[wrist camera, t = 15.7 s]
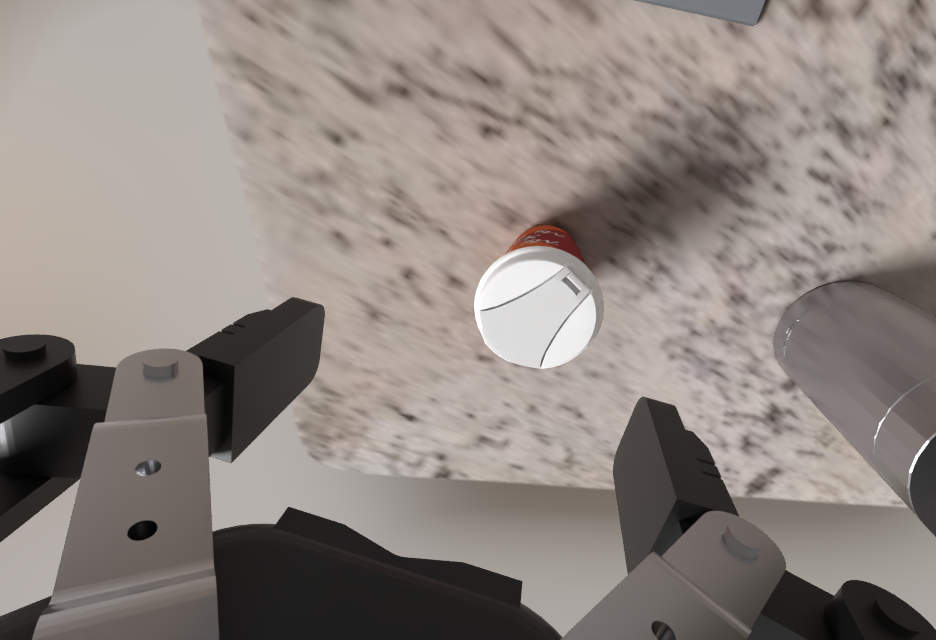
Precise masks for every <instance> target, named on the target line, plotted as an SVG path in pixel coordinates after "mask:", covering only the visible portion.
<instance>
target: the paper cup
mask: <svg viewBox="0 0 936 640" xmlns="http://www.w3.org/2000/svg"><path fill="white" fill-rule="evenodd" d="M474 310H475V318H476V321H477V325H478V327H479V329H480V332H481V334H482V336H483V339H484V341H485V344H486V345H487V346H488V347H489V348H490V349H491V350H492V351H493V352H494V353H496V354H497V355H498V356H499V357H501V358H503V359H504V360H506V361H509V362H513V363H516V364H519V365H523V366H527V367H533V368H540V369H545V368H551V367H555V366H559V365H562V364H564V363H566V362H568V361H570V360H571V359H573V358H575V357H576V356H578V355H579V354H580V353H582V352H583V351H584V350H585V349H586V348H587V347H588V346H589V345H590V344H591V342H592V341H593V340H594V339H595V337H596V335H597V333H598V331H599V329H600V326H601V323H602V319H603V312H604V302H603V296H602V291H601V289H600V286H599V283H598V281H597V280H596V278H595V276H594V275H593V273H592V272H591V271H590V269H589V268H588V267H587V266H586V264H585V262H584V259H583V257H582V256H581V254H580V252H579V249H578V247H577V245H576V244H575V242H574V240H573V239H572V238H571V236H570V235H569V234H568V233H566V232H565V231H564V230H562V229H560V228H558V227H555V226H550V225H541V226H536V227H533V228H530V229H528V230H527V231H525V232H524V233H523V234H521V235H520V236H519V237H518V238H517V239H516V241H515V242H514V243H513V244H512V246H511V247H510V248H509V250H508V251H507V252H506V254H505V255H504V256H502V257H501V258H499V259H498V260H497V261H496V262H494V263H493V264H492V265H491V266H490V267H489V268H488V270H487V271H486V272H485V274H484V275H483V277H482V279H481V280H480V283H479V285H478V287H477V291H476V295H475V303H474Z"/></svg>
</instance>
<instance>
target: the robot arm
mask: <svg viewBox="0 0 936 640" xmlns="http://www.w3.org/2000/svg"><path fill="white" fill-rule="evenodd" d="M324 317H325V311H324V307H323V306H322V305H320V304H317V303H313V302H309V301H306V300H302V299H299V298H295V297H292V298H290V299H289V300H287V301H285V302H284V303H282V304H281V305H279V306H277V307H276V308H274V309H273V310H268V309H267V310H264V311H259V312H255V313H252V314H248V315H246V316H244V317H243V318H241V319H239V320H237V321H236V322H234V323H233V325H229V326H227V327H226V328H224V329H222V331H221V332H217V333H216V334H214V335H212V336H210V337H209V338H207V339H205V340H204V341H202V342H200V343H199V344H197V345H195V346H194V347H192V348H190V349H189V350H187V351H183V350H177V349H153V350H147V351H142V352H138V353H135V354H133V355H130V356H128V357H127V358H125V359H123V360H122V361H121V362H120V363H119V364H118V365H117V367H116V368H114V367H104V366H94V365H83V364H76V355H75V347H74V345H73V343H71V342H70V341H69V340H66V339H64V338H61V337H56V336H51V335H20V336H14V337H8V338H3V339H0V542H1V541H3V540H4V539H5V538H6V537H8V536H9V535H10V534H11V533H13V532H14V531H15V530H16V529H18V528H19V527H20V526H21V525H23V524H24V523H25V522H26V521H28V520H29V519H30V518H31V517H33V516H34V515H35V514H36V513H38V512H39V511H40V510H41V509H43V508H44V507H45V506H46V505H48V504H49V503H50V502H51V501H53V500H54V499H55V498H57V497H58V496H59V495H60V494H62V493H63V492H64V491H65V490H67V489H68V488H69V487H70V486H72V485H73V484H74V483H75V482H76V481H78V480H79V479H80V478H81V479H80V483H79V487H78V492H77V495H76V499H75V504H74V508H73V512H72V516H71V520H70V524H69V528H68V533H67V537H66V541H65V545H64V549H63V553H62V557H61V562H60V565H59V570H58V574H57V578H56V582H55V586H54V590H53V594H52V596H50V597H47V598H45V599H42V600H40V601H37V602H35V603H32V604H30V605H27V606H25V607H22V608H20V609H17V610H15V611H12V612H10V613H8V614H5V615H3V616H0V640H936V630H935V629H934V627H933V626H932V625H931V624H930V623H929V622H928V621H927V620H926V619H925V618H924V617H923V616H922V615H921V614H920V613H918V612H917V611H916V610H915V609H914V608H912V607H911V606H910V605H908V604H907V603H906V602H904V601H903V600H901V599H900V598H898V597H897V596H895V595H894V594H892V593H890V592H888V591H887V590H885V589H882V588H881V587H878V586H876V585H874V584H871V583H868V582H864V581H859V580H850V581H847V582H845V583H844V584H843V585H842V586H841V588H840V589H839V590H838V592H837V593H836V594H835V596H833V595H832V594H830V593H828V592H826V591H824V590H822V589H820V588H818V587H816V586H814V585H812V584H810V583H809V582H807V581H805V580H803V579H801V578H799V577H797V576H795V575H793V574H792V573H790V572H788V571H787V570H785V569H786V562H785V559H784V556H783V554H782V552H781V551H780V549H779V548H778V546H777V545H776V544H775V543H774V542H773V540H771V539H770V537H768V535H766V534H765V533H764V532H763V531H762V530H760V529H759V528H758V527H756V526H755V525H753V524H751V523H750V522H748V521H747V520H745V519H743V518H741V517H739V515H738V513H737V510H736V508H735V506H734V504H733V502H732V500H731V497H730V495H729V493H728V491H727V488H726V486H725V484H724V482H723V480H721V479H720V478H721V475H720V473H719V471H718V469H717V467H716V466H715V462H714V460H713V458H712V456H711V453H710V451H709V449H708V447H707V446H706V445H705V444H704V443H703V442H702V441H701V440H700V439H699V438H698V437H697V436H696V435H695V434H694V433H693V432H692V431H688V430H685V428H684V426H683V423H682V421H681V418H680V416H679V413H678V411H677V408H676V407H675V406H674V405H671V404H667V403H664V402H660V401H657V400H653V399H650V398H646V397H641V398H640V399H639V401H638V402H637V404H636V406H635V408H634V411H633V413H632V416H631V418H630V420H629V423H628V425H627V427H626V430H625V432H624V434H623V437H622V439H621V442H620V444H619V446H618V449H617V452H616V455H615V459H614V465H613V477H614V484H615V490H616V497H617V504H618V511H619V517H620V524H621V531H622V537H623V544H624V551H625V558H626V564H627V571H628V575H627V576H626V577H625V578H624V579H623V580H622V581H621V582H620V583H619V584H618V585H617V586H616V587H615V588H614V589H613V590H612V591H611V592H610V593H609V594H607V596H605V597H604V598H603V599H602V600H601V601H600V602H599V603H598V604H597V605H596V606H595V607H594V608H593V609H592V610H591V611H590V612H589V613H588V614H587V615H586V616H585V617H583V618H582V619H581V620H580V621H579V622H578V623H577V624H576V625H575V626H574V627H573V628H572V629H571V630H570V631H569V632H568V633H567V634H566V635H565V636H564V637H561V635H560V634H559V633H558V632H557V631H556V630H555V629H554V628H553V627H552V626H551V625H550V624H548V623H547V622H546V621H545V620H544V619H543V618H542V617H540V616H539V615H537V614H536V613H535V612H533V611H532V610H531V609H529V608H528V607H526V606H525V605H523V604H521V603H520V602H521V590H522V581H520V580H516V579H513V578H510V577H507V576H504V575H501V574H498V573H494V572H491V571H488V570H485V569H482V568H479V567H476V566H473V565H470V564H466V563H463V562H451V561H441V560H430V559H418V558H407V557H400V556H397V555H395V554H393V553H391V552H389V551H388V550H386V549H384V548H383V547H381V546H379V545H377V544H376V543H374V542H373V541H371V540H369V539H368V538H366V537H364V536H363V535H361V534H359V533H358V532H356V531H354V530H353V529H351V528H349V527H347V526H346V525H344V524H341V523H338V522H335V521H331V520H329V519H325V518H322V517H319V516H316V515H313V514H310V513H306V512H303V511H300V510H297V509H294V508H291V507H288V508H287V510H286V511H285V512H284V514H283V515H282V517H281V518H280V519H279V521H278V522H277V523H276V524H248V525H239V526H234V527H229V528H224V529H220V530H217V531H213V532H212V515H211V495H210V478H209V477H210V475H209V457H213V458H216V459H219V460H222V461H225V462H229V463H232V462H233V461H234V460H235V459H236V458H237V457H238V456H239V455H240V454H241V453H242V452H243V451H244V450H245V449H246V448H247V447H248V445H250V444H251V443H252V442H253V441H254V440H255V439H256V438H257V436H259V435H260V433H261V432H262V431H263V430H264V429H265V428H266V427H267V426H268V425H269V424H270V423H271V422H272V421H273V420H274V419H275V418H276V417H277V416H278V415H279V414H280V413H281V412H282V411H283V410H284V409H285V408H286V407H287V406H288V405H289V404H290V403H291V402H292V401H293V400H294V399H295V398H296V397H297V396H298V395H299V394H300V393H301V392H302V391H303V390H304V389H305V388H306V387H307V386H308V385H309V384H310V382H311V381H312V380H313V378H314V376H315V374H316V371H317V368H318V365H319V360H320V352H321V343H322V334H323V326H324ZM773 345H774V353H775V356H776V358H777V361H778V363H779V365H780V366H781V367H782V369H783V370H784V371H785V373H786V374H787V375H788V376H789V377H790V378H791V379H792V380H793V381H794V382H795V384H796V385H797V386H798V387H799V388H800V389H801V390H802V391H803V392H804V394H805V395H806V396H807V397H808V398H809V399H810V400H811V401H812V403H813V404H814V405H815V406H816V407H817V408H818V409H819V410H820V411H821V412H822V413H823V415H824V416H825V417H826V418H827V419H828V420H829V421H830V422H831V423H832V424H833V425H834V427H835V428H836V429H837V430H838V431H839V432H840V433H841V434H842V435H843V436H844V437H845V439H846V440H847V441H848V442H849V443H850V444H851V445H852V446H853V447H854V448H855V449H856V451H857V452H858V453H859V454H860V455H861V456H862V457H863V458H864V459H865V460H866V461H867V463H868V464H869V465H870V466H871V467H872V468H873V469H874V470H875V471H876V472H877V473H878V475H879V476H880V477H881V478H882V479H883V480H884V481H885V482H886V483H887V484H888V485H889V486H890V487H891V488H892V489H893V491H894V492H895V493H896V494H897V495H898V496H899V497H900V498H901V499H902V500H903V502H904V503H905V504H906V505H907V506H908V507H909V508H910V509H911V510H912V511H913V512H914V514H916V516H917V517H918V518H919V519H920V520H921V521H922V522H923V524H924V525H925V526H926V527H927V528H928V529H929V530H930V531H931V532H932V533H933V534H934V535H935V537H936V316H935V315H933V314H931V313H929V312H927V311H925V310H923V309H921V308H919V307H917V306H915V305H913V304H911V303H909V302H907V301H905V300H903V299H901V298H899V297H897V296H895V295H893V294H891V293H889V292H887V291H885V290H883V289H881V288H879V287H877V286H874V285H871V284H867V283H863V282H850V281H847V282H839V283H832V284H829V285H825V286H822V287H819V288H817V289H815V290H813V291H811V292H809V293H807V294H805V295H804V296H802V297H801V298H800V299H798V300H797V301H795V302H794V303H793V304H792V305H791V306H790V307H789V309H788V310H787V311H786V312H785V313H784V315H783V316H782V318H781V319H780V321H779V323H778V326H777V328H776V331H775V335H774V343H773Z"/></svg>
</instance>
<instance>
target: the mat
mask: <svg viewBox="0 0 936 640" xmlns="http://www.w3.org/2000/svg"><path fill="white" fill-rule="evenodd" d="M636 1H640V2H645V3H649V4H654V5H658V6H663V7H668V8H672V9H677V10H681V11H686V12H690V13H695V14H699V15H704V16H709V17H713V18H718V19H722V20H727V21H731V22H736V23H741V24H745V25H750V26H754V25H756V23H757V20H758V18H759V15H760V13H761V10H762V8H763V5H764V3H765V0H636Z"/></svg>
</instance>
